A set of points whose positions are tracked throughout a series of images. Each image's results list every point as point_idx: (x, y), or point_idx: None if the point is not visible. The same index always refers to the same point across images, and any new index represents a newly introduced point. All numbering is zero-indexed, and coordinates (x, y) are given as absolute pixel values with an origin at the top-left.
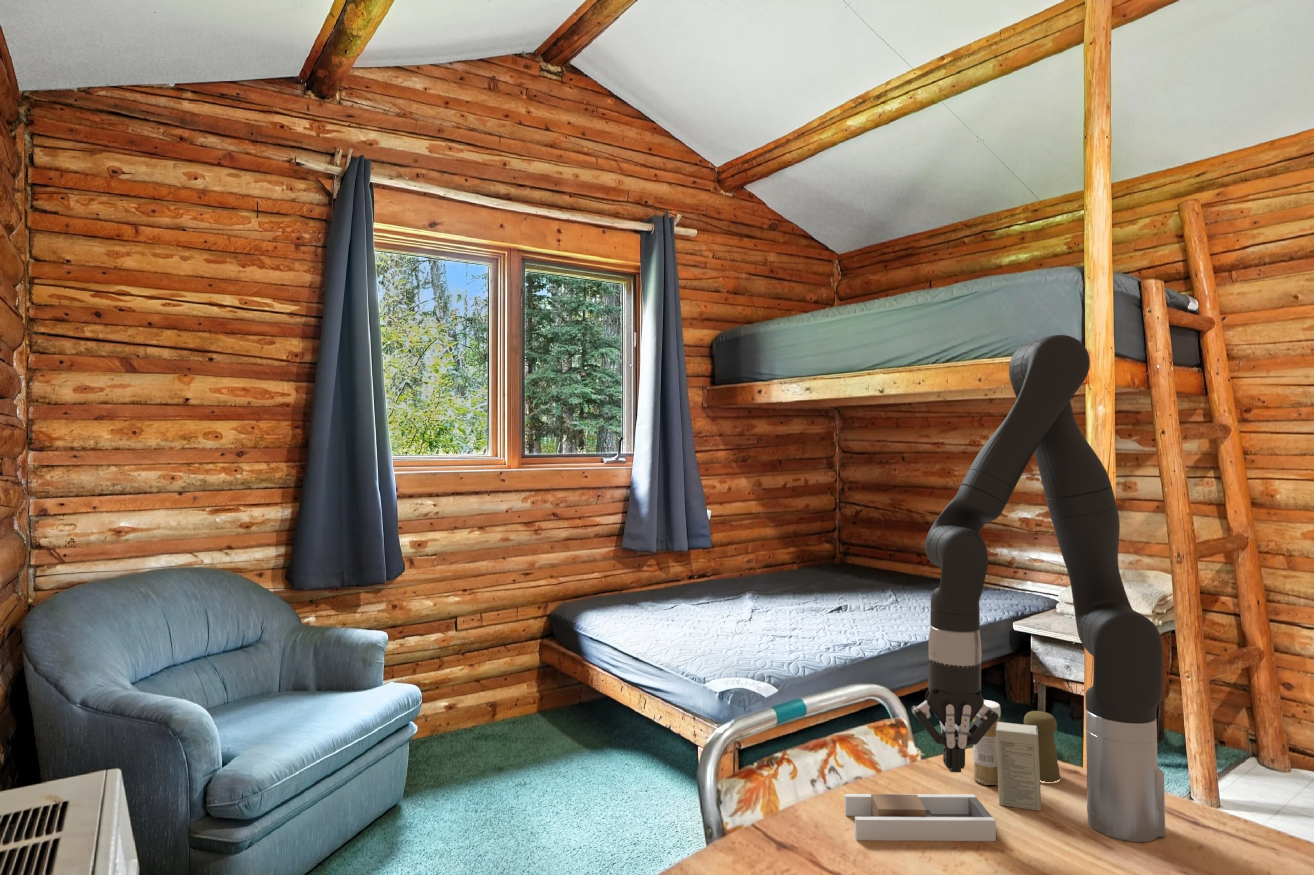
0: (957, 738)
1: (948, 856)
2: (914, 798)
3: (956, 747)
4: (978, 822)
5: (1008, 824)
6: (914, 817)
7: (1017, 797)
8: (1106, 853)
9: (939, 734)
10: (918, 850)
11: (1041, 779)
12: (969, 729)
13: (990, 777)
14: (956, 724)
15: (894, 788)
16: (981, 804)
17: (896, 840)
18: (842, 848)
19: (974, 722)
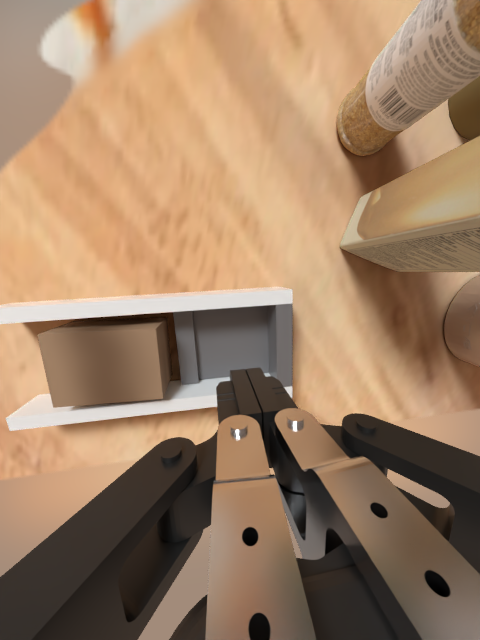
0: (289, 472)
1: (194, 431)
2: (146, 348)
3: (269, 452)
4: None
5: (322, 322)
6: (139, 406)
7: (379, 259)
8: (416, 393)
9: (179, 569)
10: (150, 421)
11: (473, 132)
12: (390, 467)
13: (370, 144)
14: (324, 551)
15: (138, 167)
16: (291, 335)
17: None
18: (15, 433)
19: (468, 499)
